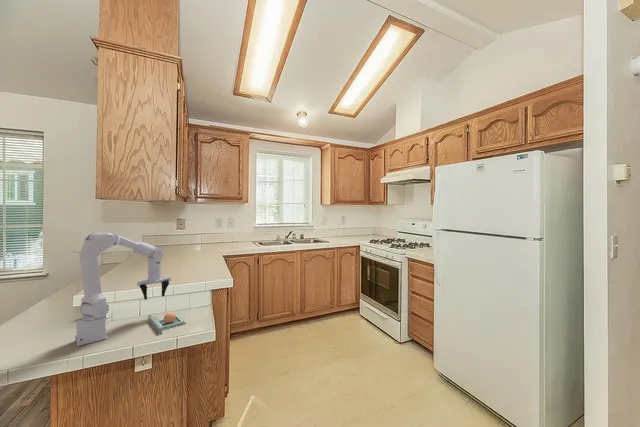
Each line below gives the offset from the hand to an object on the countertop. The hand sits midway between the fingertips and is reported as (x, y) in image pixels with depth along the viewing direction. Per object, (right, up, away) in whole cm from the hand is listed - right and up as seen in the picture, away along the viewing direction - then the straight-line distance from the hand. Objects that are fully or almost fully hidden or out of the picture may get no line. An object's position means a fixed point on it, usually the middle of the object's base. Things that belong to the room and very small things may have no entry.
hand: (154, 297), depth 135 cm
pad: (+13, -10, -9) cm, 18 cm away
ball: (+13, -7, -9) cm, 17 cm away
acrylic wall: (+8, -10, -12) cm, 17 cm away
